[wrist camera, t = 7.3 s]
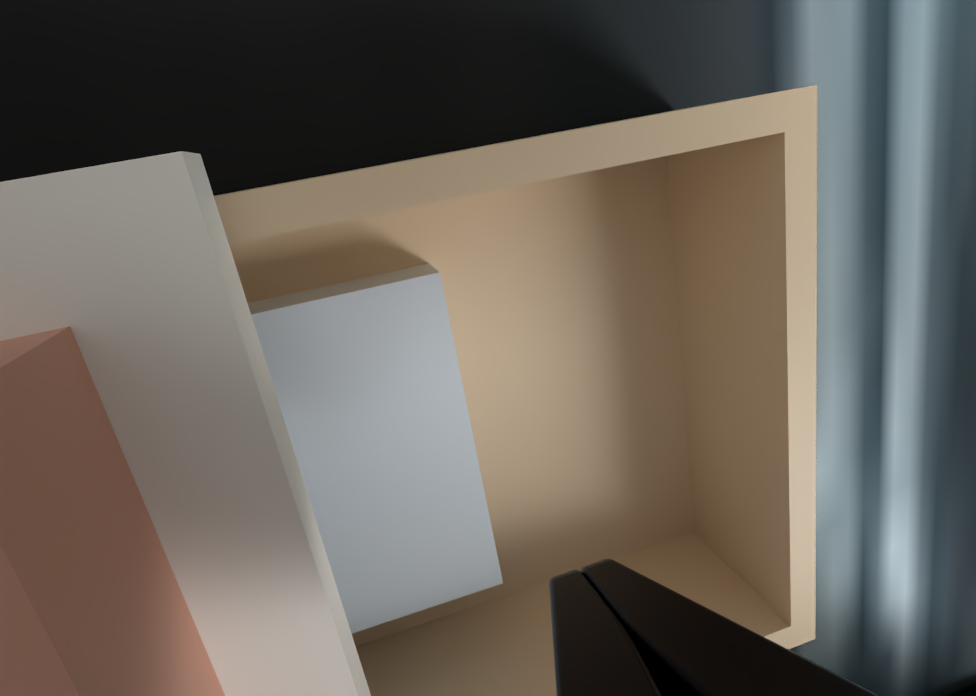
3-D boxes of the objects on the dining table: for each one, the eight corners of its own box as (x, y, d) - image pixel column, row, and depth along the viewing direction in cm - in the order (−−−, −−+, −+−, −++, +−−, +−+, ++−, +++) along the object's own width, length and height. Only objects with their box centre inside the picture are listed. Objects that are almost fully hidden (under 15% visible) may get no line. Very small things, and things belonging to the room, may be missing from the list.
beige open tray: (675, 110, 13) (817, 85, 9) (704, 533, 16) (815, 638, 13) (-188, 270, 10) (-495, 328, 6) (74, 747, 13) (-22, 966, 10)
